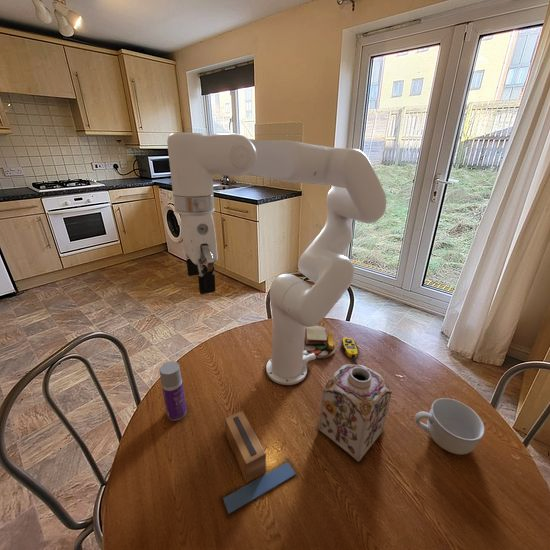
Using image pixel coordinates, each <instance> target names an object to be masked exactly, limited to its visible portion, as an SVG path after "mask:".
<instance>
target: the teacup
mask: <svg viewBox="0 0 550 550" xmlns="http://www.w3.org/2000/svg"><path fill="white" fill-rule="evenodd" d="M422 419H426V423H424V422H423V421H421V420H422ZM414 420H415V423H416V425H417V426H418V427H419V428H421V429H422V430H424V431H425V433H428V434H429V436H430V437H431V439H432V441H434V443H435V444H436V445H437V446H439V447H440V448H441V449H443V450H445V451H447V452H449V453H451V454H454V455H467V454H469V453H471V452H472V451H473V450H475V449H476V447H477V445H479V443H480V441H481V439H482V438H483V437H484V435H485V432H486V431H485V425H484V422H483V420H482V419H481V417H480V416H479V415H478V413H477V412H476V411H475V410H474V409H472V408H471V407H470V406H469V405H467V404H465V403H463V402H461V401H459V400H457V399H454V398H449V397H441V398H436V399H435V400H434V401H433V402H432V404H431V407H430V410H429V411H419V412H417V413H416V414H415V416H414Z"/></svg>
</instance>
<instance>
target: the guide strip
mask: <svg viewBox="0 0 550 550" xmlns="http://www.w3.org/2000/svg"><path fill="white" fill-rule="evenodd" d="M296 475H297V474H296V472H295V471H294V469H293V467H292V466H291V464H290V462H289V461H287V462H285V463H284V464H281V465H280V466H278V467H276V468H274V469H272V470H270V471H269V472H267V473H264V474H263V475H261V476H259V477H257V479H256V478H255V479H254V480H253V481H250V482H248V483H247V484H246V485H244V486H242V487H240V488H239V489H237V490H235V491H233V492H231V493H230V494H228V495H226V496H224V497H223V498H222V500H223V503H224V505H225V508H226V511H227V514H228V515H230V514H232V513H234V512H235V511H237V510H239V509H241V508H243V507H244V506H245V505H247V504H249V503H250V502H252V501H254V500H256V499H258V498H259V497H261V496H263V495H265V494H266V493H267V492H269V491H271V490H273V489H275V488H276V487H278V486H280V485H281V484H283V483H285V482H287V481H288V480H290V479H291V478H294V477H295V476H296Z"/></svg>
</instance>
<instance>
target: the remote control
mask: <svg viewBox="0 0 550 550" xmlns="http://www.w3.org/2000/svg"><path fill="white" fill-rule="evenodd" d="M341 348H342V351H343V353H344V354H345V355H346V356H347V357H348V358H351V359H352V360H353V362H354V365H358V362H357V361H356V358H357V357H358V353H359V347H358V345H357V343H356V342H355V341H354V340H353V338H352V337H342V341H341Z"/></svg>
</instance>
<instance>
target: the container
mask: <svg viewBox="0 0 550 550" xmlns="http://www.w3.org/2000/svg"><path fill="white" fill-rule="evenodd" d="M159 375H160V383H161V389H162V390H161V391H162V394H163V400H164V405H165V412H166V416H167V418H168V419H169V420H170V421H179V420H182V419H183V418H184V417H185V416H186V414H187V406H186V400H185V399H186V398H185V392H184V391H185V390H184V385H183V384H184V383H183V378H182V372H181V366H180V364H179V363H178V362H177V361H173V360H171V361H167V362H165V363H162V364H161V366H160V367H159Z"/></svg>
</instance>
